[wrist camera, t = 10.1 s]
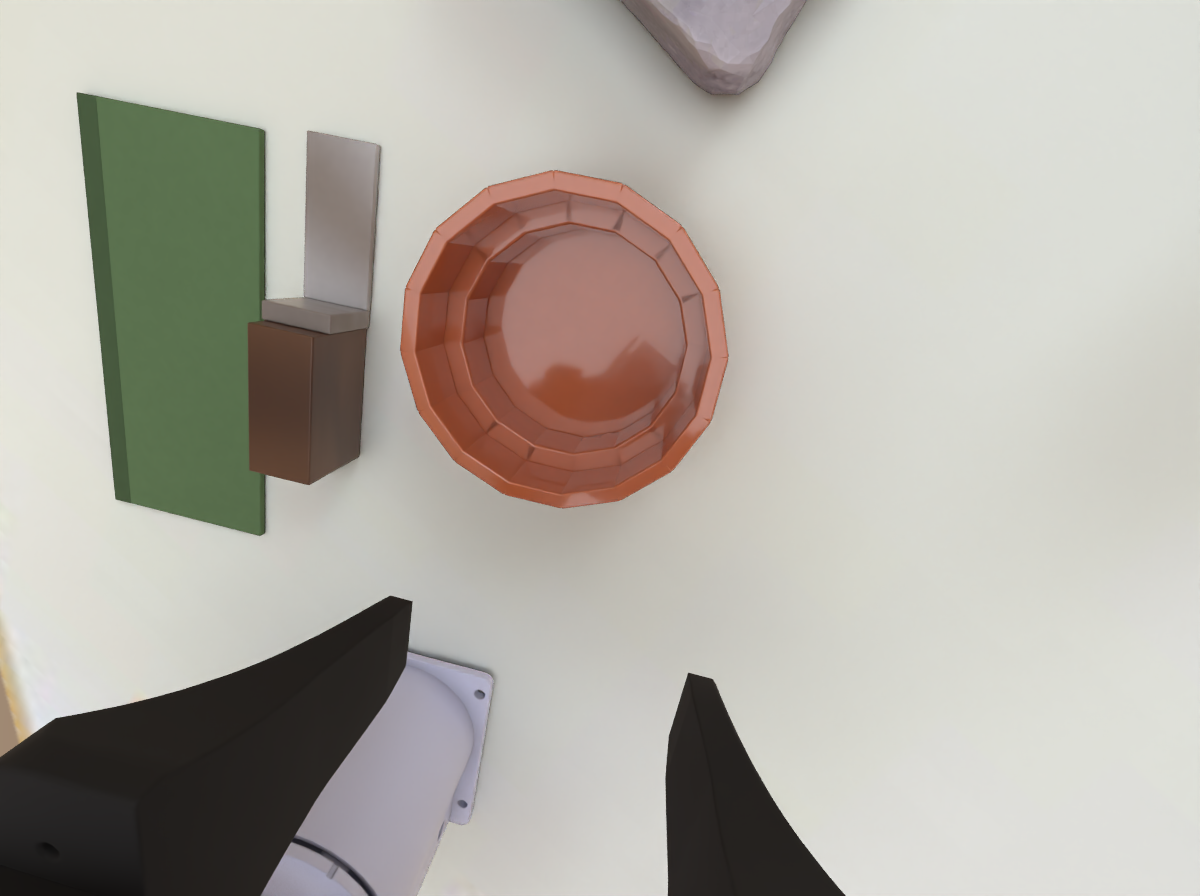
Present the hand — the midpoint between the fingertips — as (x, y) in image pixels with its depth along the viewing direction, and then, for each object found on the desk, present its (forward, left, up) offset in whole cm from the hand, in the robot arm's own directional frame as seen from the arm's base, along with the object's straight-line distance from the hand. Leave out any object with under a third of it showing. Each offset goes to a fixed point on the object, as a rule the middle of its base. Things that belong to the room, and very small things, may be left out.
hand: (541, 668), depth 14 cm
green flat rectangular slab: (+4, +18, -9) cm, 21 cm away
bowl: (+7, +2, -9) cm, 12 cm away
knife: (+6, +12, -9) cm, 16 cm away
